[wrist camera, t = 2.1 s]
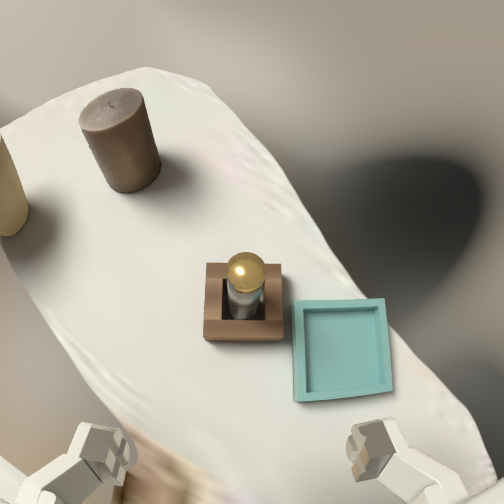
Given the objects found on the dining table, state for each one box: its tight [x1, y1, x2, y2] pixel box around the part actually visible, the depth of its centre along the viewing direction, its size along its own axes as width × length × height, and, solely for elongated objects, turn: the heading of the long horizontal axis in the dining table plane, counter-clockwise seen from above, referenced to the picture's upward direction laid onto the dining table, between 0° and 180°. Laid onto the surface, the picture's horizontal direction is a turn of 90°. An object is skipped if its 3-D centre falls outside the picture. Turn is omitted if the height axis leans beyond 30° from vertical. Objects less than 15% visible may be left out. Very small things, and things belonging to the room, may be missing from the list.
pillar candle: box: [79, 88, 161, 193], centre depth 40 cm, size 10×10×15 cm
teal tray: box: [291, 298, 393, 402], centre depth 35 cm, size 12×12×2 cm
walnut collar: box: [203, 263, 284, 342], centre depth 36 cm, size 9×9×3 cm
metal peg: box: [226, 252, 266, 320], centre depth 32 cm, size 4×4×12 cm
